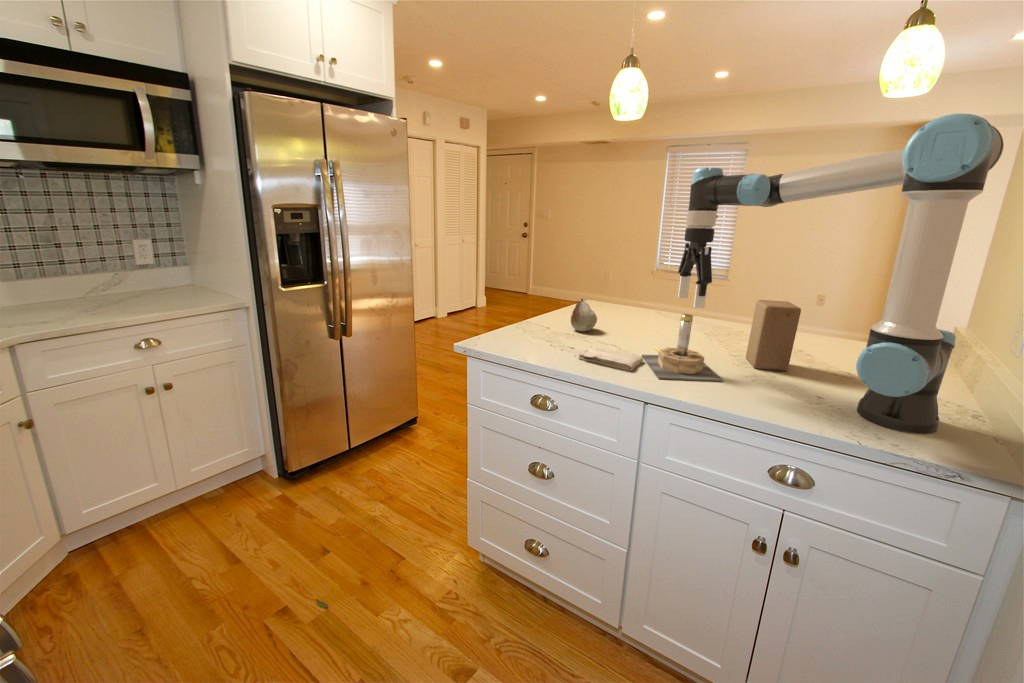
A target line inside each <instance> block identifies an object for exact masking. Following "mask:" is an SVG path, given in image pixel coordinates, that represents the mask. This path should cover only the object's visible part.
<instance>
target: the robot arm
mask: <svg viewBox="0 0 1024 683" xmlns="http://www.w3.org/2000/svg"><path fill="white" fill-rule="evenodd" d="M1004 145H1005V144H1004V138H1003V136H1002V134H1001V132H1000V130H998V128H996V127H995V126H994V125H992V124H991V123H990V122H989V121H988V120H987V118H984V117H981V116H979V115H978V114H972V113H951V114H947V115H943V116H939V117H936V118H934V119H932V120H931V121H929V122H927V123H925V124H924V125H922V126H921V127H920V128H919V129H917V130H916V131H915V132H914V133H913V134H912V136H910V137H909V139H908V141H907V143H906V144H905V146H904V148H903V149H897V150H893V151H887V152H882V153H879V154H878V153H877V154H872V155H868V156H863V157H858V158H854V159H848V160H844V161H843V160H842V161H839V162H835V163H834V162H833V163H827V164H824V165H819V166H814V167H809V168H805V169H800V170H795V171H790V172H789V171H788V172H784V173H781V174H780V173H778V174H776V175H775V174H774V175H770V176H767V175H766V174H764V173H763V174H761V173H760V174H759V173H748V174H746V173H745V174H731V175H727V174H726V175H724V172H723V171H724V170H723V168H721V167H698V168H696V169H694V171H693V173H692V178H691V179H692V180H691V182H690V183H691V184H690V193H689V204H688V210H687V215H686V222H685V223H686V224H685V225H686V229H685V233H684V241H685V242H687V243H685V245H684V249H683V250H684V251H683V254H682V257H681V260H680V263H679V267H678V272H677V273H679V276H680V278H679V285H678V292H677V293H678V294H677V295H678V296H677V298H678V299H689V292H690V291H689V290H690V283H691V277H692V275H693V274H692V270H693V269H694V266H695V269H696V276H697V280H696V281H695V284H696V287H695V293H694V300H693V305H692V306H693V308H694V309H695V308H698V309H699V308H702V309H705V307H706V306H705V304H706V300H707V299H706V298H707V290H708V285H709V284H712V283H713V272H712V271H713V270H712V269H713V268H712V246H707V245H708V244H707V243H713V242H714V238H715V237H714V236H715V228H713V227H715V226H716V222H717V219H718V218H719V216H718V215H717V214H718V208H719V206H743V207H761V208H768V207H769V208H771V207H774V206H778V205H780V204H787V203H792V202H798V201H806V200H812V199H817V198H825V197H831V196H838V195H844V194H850V193H851V194H852V193H855V192H856V193H857V192H865V191H869V190H877V189H883V188H888V187H889V188H891V187H896V186H902V187H901V192H900V193H901V196H903V197H904V198H905V199H906V200H907V203H908V206H907V209H906V213H905V219H904V221H903V222H904V223H903V226H902V230H901V231H902V232H901V235H900V240H899V244H898V248H897V252H896V253H897V254H896V258H895V260H894V261H895V262H894V266H893V269H892V272H891V273H892V275H891V277H890V278H891V279H890V283H889V286H888V292H887V296H886V300H885V304H884V309H883V313H882V318H881V319H880V320H879V321H878V322H876V323H875V324H872V325H871V326H870V329H869V334H868V338H867V342H866V347H865V348H864V349H863V350H862V352H861V353H860V354H859V356H858V357H857V360H856V364H855V365H856V367H855V368H856V374H857V376H858V377H859V379H860V381H861V382H862V383H863V385H865V387H867V388H868V389H867V390H866V392H865V393H864V395H863V397H861V398H860V399H859V401H858V403H857V407H856V411H857V413H858V415H860V416H861V417H862V418H864V419H866V420H868V421H869V422H872V423H874V424H875V425H876V424H877V425H879V426H882V427H885V428H889V429H891V430H895V431H900V432H905V433H911V434H921V435H922V434H923V435H925V434H932V433H935V432H937V430H938V427H939V424H940V417H939V405H938V404H939V403H938V394H939V391H940V388H941V386H942V382H943V379H944V376H945V373H946V370H947V368H948V367H947V366H948V364H949V361H950V358H951V355H952V352H953V350H954V349H955V348H956V340H957V338H956V334H955V333H953V332H951V331H949V330H944V329H941V328H940V329H939V328H937V326H936V325H937V323H938V320H939V315H940V311H941V308H942V304H943V300H944V296H945V293H946V288H947V285H948V281H949V277H950V272H951V269H952V266H953V262H954V258H955V254H956V250H957V247H958V244H959V240H960V235H961V231H962V228H963V224H964V220H965V216H966V213H967V209H968V206H969V203H970V202H971V201H972V200H973V199H975V198H976V197H978V196H979V195H980V194H983V192H984V188H985V184H986V181H987V179H988V173H989V172H990V170H992V169H993V168H994V167H995V166H996V164H997V163H998V162H999V160H1000V159H1001V157H1002V155H1003V151H1004Z"/></svg>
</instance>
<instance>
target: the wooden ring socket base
mask: <svg viewBox="0 0 1024 683" xmlns="http://www.w3.org/2000/svg"><path fill="white" fill-rule="evenodd" d="M676 350H677V347H666V348H663V349H660V350H659V352H658V354H641V357H642V358H643V361H645V363H646V364H647V365H648V367H649V368H650V370H651V371H652V372H653V373H654V375H655V376H656V378H657V379H658V380H667V381H668V380H670V381H691V382H692V381H693V382H694V381H696V382H713V383H714V382H720V383H723V381H724V380H723V378H722V377H720V376H719V375H718V374H717V373H716V372H715V371H714V370H713V369H712V368H710V367H709V366H708V365H707V364H706V363H705V362H704V361H705V356H703V354H702V353H701V352H699V351H697V350H692V349H689V348H688V353H687V357H682V356H677V355H676Z"/></svg>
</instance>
